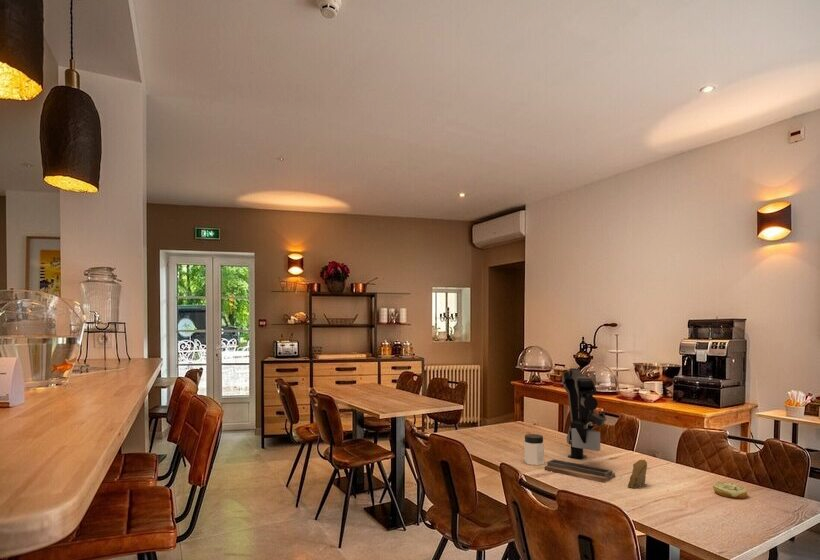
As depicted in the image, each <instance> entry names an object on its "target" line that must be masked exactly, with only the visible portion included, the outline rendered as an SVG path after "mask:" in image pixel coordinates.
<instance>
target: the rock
mask: <svg viewBox="0 0 820 560" xmlns="http://www.w3.org/2000/svg"><path fill="white" fill-rule="evenodd" d="M632 467H633V469H632V474H630V477H629V482H628V484H627V487H628V488H631V489H636V488H638V487H640V485H641V486H642V485H645V484H646V478H647V477H646V476H647V475H646V473H647V469H648V462H647V461H646V460H645V459H639V460H637V461H635V462H634V463H633V464H632Z"/></svg>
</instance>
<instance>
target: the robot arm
mask: <svg viewBox="0 0 820 560" xmlns="http://www.w3.org/2000/svg"><path fill="white" fill-rule="evenodd" d="M561 383H562V385H563V389H564V390H565V392H567V393H566V394H568V395H567V396H568V403H569V404H568V405H569V413H570V423H569V428H568V432H567V436H566V443H567V444H568V445H570V454H569V455H567V457H568V458H573V459H576V460H577V459H579V460H583V459H584V458H586V457H587V455H586V454H584V449H582V448H576V447H572V431H571V429H572V428H575V429H576V430H577V432H578V433H579V435H580V437H581V440H582V442H583V443H586V437H587V431H588V430H593V429H594V428H596V426H598V427H602V426H605V425H604V424H605V422H606V421H607V417H606V415H605V413H603V412H600V413H595V410H596V409H597V407H598V401H597V399H596V397H594V395H595V396H596V395H597V388H596V384H595V382H594V381H593V379H592V378H591V377H587V376H585V375H584V374H583V372H582V371H581V369H580V368H577V367H575V368H568V370H567V371H566V372H564V373H563V374H562V378H561ZM594 424H595V425H594Z"/></svg>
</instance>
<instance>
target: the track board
mask: <svg viewBox="0 0 820 560" xmlns="http://www.w3.org/2000/svg"><path fill="white" fill-rule="evenodd" d="M546 470H549V471H548V472H551V471H552V473H556V474H560V475H565V476H566V475H567V476H570V475H571V477H576V478H580V479H584V480H590V481H594V482H599V483H603V482H604V483H606V482H609V481H610V480H612V479H614V478H616V472H613V470H611V469H607V468H602V467H597V466H593V465H592V466H591V465H585V464H582V463H581V464H580V463H575V462H570V461H565V460H560V459H554V458H553V459H551V460H549V461H546V465H545V466H544V471H546ZM613 477H614V478H613Z"/></svg>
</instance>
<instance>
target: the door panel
mask: <svg viewBox="0 0 820 560" xmlns="http://www.w3.org/2000/svg"><path fill="white" fill-rule="evenodd" d="M571 431H572V447H576V448H582V449H583V450H587V451H588V450H589V451H594V452H600V451H601V431H599V430H593V429H592V430H588V431H587V437H586V443H583V442H582V440H581V437H580V435H579V433H578V432H577V430H576V429H575V428H572V429H571Z"/></svg>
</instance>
